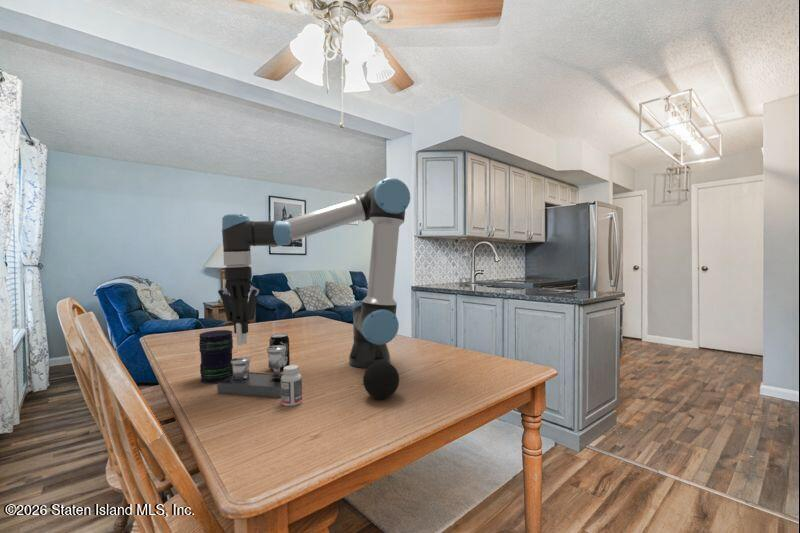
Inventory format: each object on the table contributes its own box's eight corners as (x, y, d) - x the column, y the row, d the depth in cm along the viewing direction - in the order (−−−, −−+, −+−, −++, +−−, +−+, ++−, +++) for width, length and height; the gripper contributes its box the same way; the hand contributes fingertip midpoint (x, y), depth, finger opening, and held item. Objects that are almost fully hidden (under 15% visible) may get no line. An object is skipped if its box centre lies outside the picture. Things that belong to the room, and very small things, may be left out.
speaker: (402, 391, 109) (402, 357, 109) (395, 405, 99) (394, 368, 99) (369, 389, 111) (368, 356, 111) (358, 403, 101) (358, 366, 101)
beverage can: (292, 366, 135) (291, 333, 135) (285, 371, 129) (284, 337, 129) (275, 365, 136) (274, 332, 136) (266, 371, 130) (265, 337, 129)
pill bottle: (300, 397, 106) (299, 363, 105) (304, 404, 101) (303, 368, 101) (280, 401, 103) (279, 365, 103) (283, 408, 99) (282, 371, 98)
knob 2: (289, 373, 114) (289, 345, 113) (280, 379, 109) (279, 349, 108) (273, 372, 115) (272, 344, 115) (263, 378, 110) (262, 349, 109)
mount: (298, 384, 116) (298, 374, 116) (279, 397, 106) (279, 386, 106) (241, 380, 121) (240, 370, 121) (217, 393, 110) (217, 382, 110)
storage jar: (207, 386, 116) (205, 338, 115) (195, 379, 123) (194, 333, 122) (239, 377, 123) (238, 332, 123) (226, 371, 130) (225, 328, 129)
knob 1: (254, 384, 116) (253, 356, 116) (243, 390, 111) (243, 361, 111) (239, 383, 118) (238, 356, 117) (227, 389, 112) (226, 360, 112)
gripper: (264, 265, 115) (268, 341, 116) (227, 266, 118) (231, 340, 119) (249, 266, 108) (253, 347, 109) (210, 267, 111) (214, 346, 112)
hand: (241, 344), depth 114 cm, fingers closed
